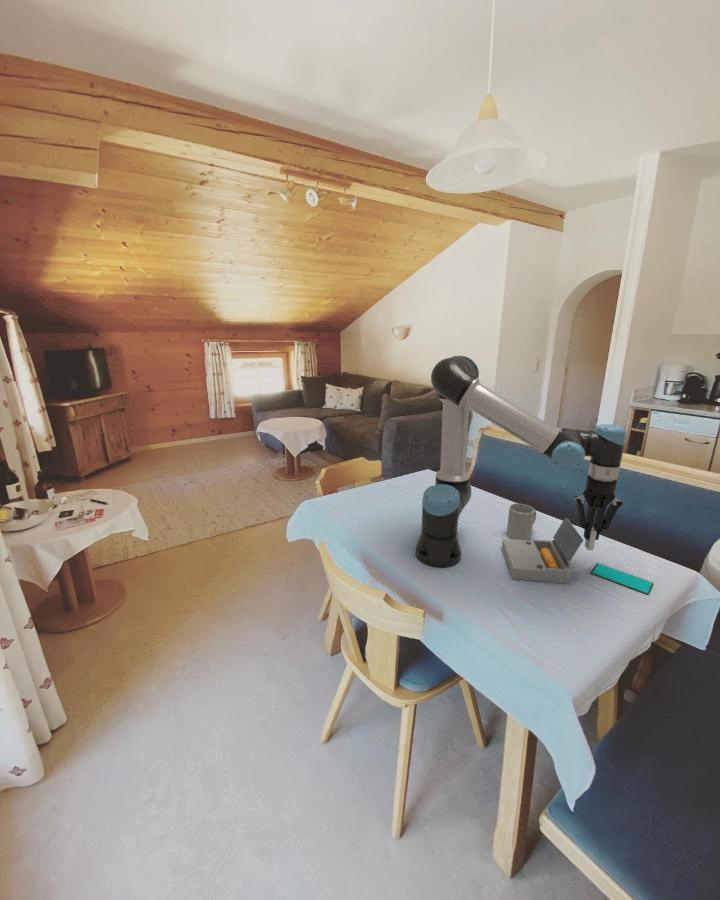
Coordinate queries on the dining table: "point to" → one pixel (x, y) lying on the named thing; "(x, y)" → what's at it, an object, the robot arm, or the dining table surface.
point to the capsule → (548, 558)
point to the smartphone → (622, 578)
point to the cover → (567, 541)
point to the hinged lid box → (534, 561)
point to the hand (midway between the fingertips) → (588, 548)
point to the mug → (520, 521)
